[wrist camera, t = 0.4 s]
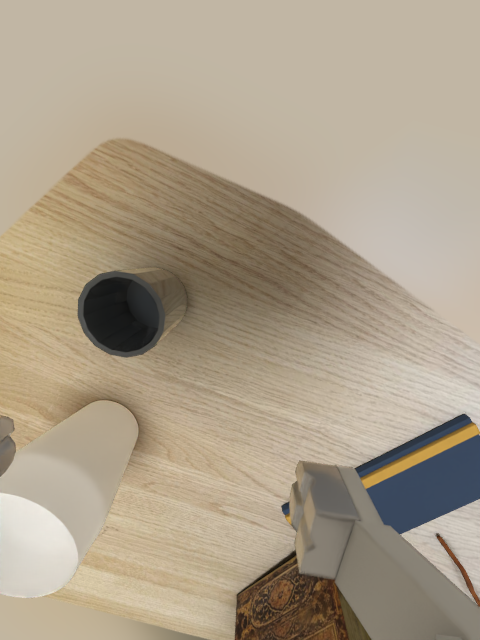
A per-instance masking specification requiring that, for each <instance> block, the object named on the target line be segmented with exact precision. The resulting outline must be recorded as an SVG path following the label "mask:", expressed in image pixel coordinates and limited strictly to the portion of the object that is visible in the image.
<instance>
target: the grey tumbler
mask: <svg viewBox="0 0 480 640" xmlns="http://www.w3.org/2000/svg"><path fill="white" fill-rule="evenodd" d="M187 303H188V300H187V293H186V290H185V288H184V286H183V284H182V282H181V281H180V280H179V279H178V278H177V277H176V276H175V275H174V274H173V273H171V272H169V271H167V270H165V269H162V268H156V267H146V268H136V269H127V270H117V271H111V272H107V273H102V274H99V275H97V276H96V277H95V278H93V279H92V280H91V281H90V282H88V283H87V284H86V285H85V287H84V289H83V291H82V293H81V295H80V297H79V299H78V318H79V321H80V324H81V327H82V330H83V332H84V333H85V335H86V336H87V337H88V338H89V339H90V341H91V342H92V343H93V344H94V345H95V346H96V347H98V348H100V349H101V350H103V351H105V352H106V353H108V354H110V355H115V356H121V357H132V356H137V355H142V354H144V353H145V352H147V351H148V350H150V349H151V348H153V347H154V346H155V345H157V344H158V343H159V342H160V341H161V340H162V339H163V338H164V337H165V336H166V335H167V334H168V333H169V332H170V331H171V330H172V329H173V328H174V327H175V326H176V325H177V324H178V323H179V322H180V321H181V319H182V318H183V316H184V314H185V312H186V309H187Z"/></svg>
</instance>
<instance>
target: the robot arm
mask: <svg viewBox="0 0 480 640" xmlns="http://www.w3.org/2000/svg"><path fill="white" fill-rule="evenodd" d="M13 431H14V423H13V419H11V418H9V417H6V416H0V477H1V476H2V475H3V474H4V473H5V472H6V471H7V469H8V468H9V466H10V465H11V463H12V462H13V460H14V456H15V452H16V445H15V442H14V441H13V440H12V438H11V437H10V435H11V434H12V432H13ZM295 473H296V477H297V481H296V482H295V483H294V484H292V488H291V493H290V503H289V508H290V519H291V525H292V526H293V528H294V529H295V530H296V532H297V535H296V539H295V543H294V544H295V549H296V555H297V561H298V567H299V573H300V574H304V575H310V576H315V577H321V578H326V579H332V580H335V583H336V585H337V586H338V588H339V590H340V591H341V593H342V594H343V596H344V597H345V599H346V600H347V602H348V604H349V605H350V607H351V608H352V610H353V611H354V613H355V615H356V616H357V618H358V619H359V621H360V622H361V624H362V625H363V627H364V629H365V630H366V632H367V633H368V635H369V636H370V638H371V639H372V640H480V607H479V606H478V605H477V604H475V603H474V602H473V601H472V600H471V599H470V598H469V597H468V596H467V595H466V594H464V593H463V592H462V591H461V590H460V589H459V588H458V587H457V586H456V585H455V584H454V583H452V582H451V581H450V580H449V579H448V578H447V577H446V576H445V575H444V574H443V573H441V572H440V571H439V570H438V569H437V568H436V567H435V566H434V565H433V564H432V563H430V562H429V561H428V560H427V559H426V558H425V557H424V556H423V555H422V554H421V553H419V552H418V551H417V550H416V549H415V548H414V547H413V546H412V545H411V544H410V543H409V542H407V541H406V540H405V539H404V538H403V537H402V536H401V535H400V534H399V533H398V532H396V531H395V530H394V529H393V528H392V527H391V526H388V525H384V524H383V522H382V520H381V518H380V516H379V514H378V512H377V510H376V508H375V506H374V504H373V502H372V500H371V499H370V497H369V495H368V493H367V491H366V489H365V487H364V485H363V483H362V481H361V479H360V477H359V475H358V473H357V472H356V470H355V469H354V468H353V467H346V466H338V465H328V464H321V463H314V462H307V461H300V460H299V462H298V464H297V467H296V471H295Z"/></svg>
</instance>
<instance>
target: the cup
mask: <svg viewBox="0 0 480 640" xmlns="http://www.w3.org/2000/svg"><path fill="white" fill-rule="evenodd" d="M138 434H139V428H138V424H137V421H136V419H135V417H134V416H133V414H132V413H131V412H130V411H129V410H128V409H127V408H126V407H124V406H123V405H121V404H119V403H116V402H113V401H108V400H100V401H95V402H92V403H90V404H88V405H87V406H85V407H83V408H82V409H80V410H79V411H77V412H76V413H74V414H73V415H71V416H70V417H68V418H67V419H65V420H64V421H62V422H60V423H59V424H57V425H56V426H54V427H53V428H51V429H50V430H48V431H47V432H45V433H44V434H42V435H41V436H39V437H38V438H36V439H34V440H33V441H31V442H30V443H28V444H27V445H25V446H24V447H22V448H21V449H19V450H18V451H16V452H15V456H14V460H13V462H12V463H11V465H10V466H9V468H8V469H7V471H6V472H5V473H4V474H3V475H2V476H1V477H0V594H2V595H7V596H12V597H21V598H32V597H40V596H45V595H48V594H51V593H53V592H56V591H58V590H59V589H61V588H62V587H64V586H65V585H66V584H67V583H68V582H69V581H70V580H71V579H72V577H73V575H74V574H75V572H76V570H77V569H78V567H79V565H80V564H81V562H82V560H83V559H84V557H85V555H86V554H87V552H88V550H89V549H90V547H91V545H92V544H93V542H94V541H95V539H96V538H97V536H98V534H99V533H100V531H101V529H102V527H103V525H104V523H105V521H106V518H107V515H108V513H109V510H110V508H111V505H112V503H113V500H114V498H115V495H116V492H117V490H118V487H119V485H120V482H121V480H122V477H123V474H124V472H125V469H126V467H127V464H128V461H129V459H130V456H131V454H132V451H133V449H134V446H135V443H136V441H137V438H138Z"/></svg>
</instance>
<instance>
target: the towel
mask: <svg viewBox="0 0 480 640" xmlns="http://www.w3.org/2000/svg"><path fill="white" fill-rule="evenodd" d="M479 434H480V432H479V430H478V428H477V426H476V424H474V423H473V422H472V421H471V419H470V417H468V416H467V415H465V414H463V415H461V416H459V417H457V418H455V419H453V420H451V421H449V422H447V423H445V424H443V425H441V426H439V427H437V428H435V429H433V430H431V431H429V432H427V433H425V434H423V435H421V436H419V437H417V438H415V439H413V440H411V441H409V442H407V443H405V444H404V445H402V446H400V447H398V448H396V449H394V450H392V451H390V452H388V453H386V454H384V455H382V456H380V457H378V458H376V459H374V460H372V461H370V462H368V463H366V464H364V465H362V466H360V467H358V468H356V469H355V470H356V472H357V473H358V475H359V477H360V479H361V481H362V483H363V485H364V487H365V489H366V491H367V493H368V495H369V497H370V499H371V500H372V502H373V504H374V506H375V508H376V510H377V512H378V514H379V516H380V518H381V520H382V522H383V524H384V525H388V526H391V527H392V528H393V529H394V530H395V531H396V532H398V533H399V534H402V533H404V532H406V531H409V530H411V529H413V528H415V527H418V526H420V525H422V524H424V523H427V522H429V521H431V520H433V519H436V518H438V517H440V516H442V515H445V514H447V513H449V512H451V511H453V510H456V509H458V508H460V507H462V506H465V505H467V504H469V503H471V502H474V501H476V500H478V499H480V436H479ZM289 503H290V502H289ZM289 503H287V504H285V505H283V506H282V512H283V513H284V514H285V518H286V520H287V521H288V522H289V523H290V525H291V519H290V508H289Z"/></svg>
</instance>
